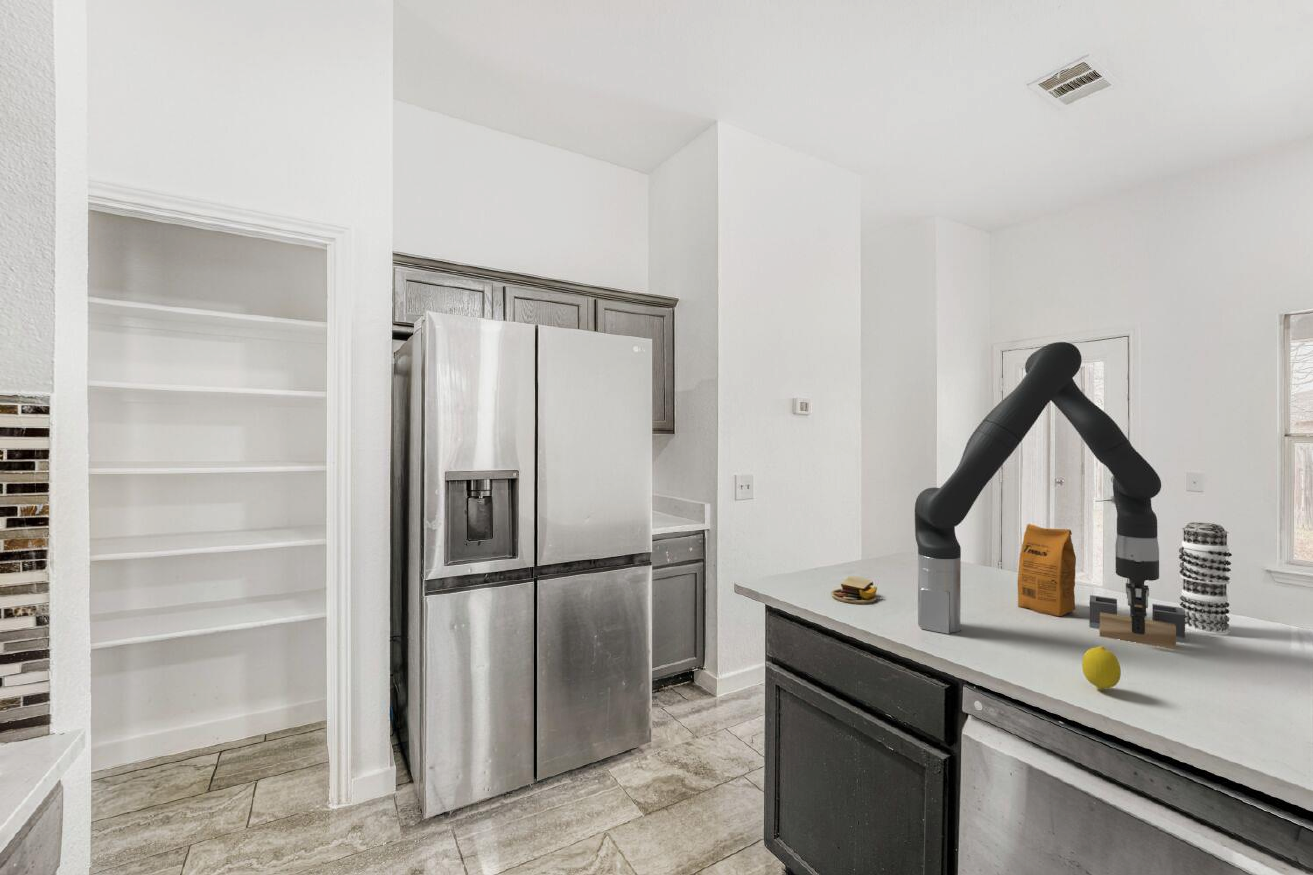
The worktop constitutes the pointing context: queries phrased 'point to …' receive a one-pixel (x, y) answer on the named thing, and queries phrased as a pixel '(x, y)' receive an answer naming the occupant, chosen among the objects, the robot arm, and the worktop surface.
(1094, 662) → the lemon
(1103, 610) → the rail
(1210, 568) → the decorative candle
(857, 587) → the toy sandwich meal
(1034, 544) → the coffee package
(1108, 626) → the slat
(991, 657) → the worktop surface
